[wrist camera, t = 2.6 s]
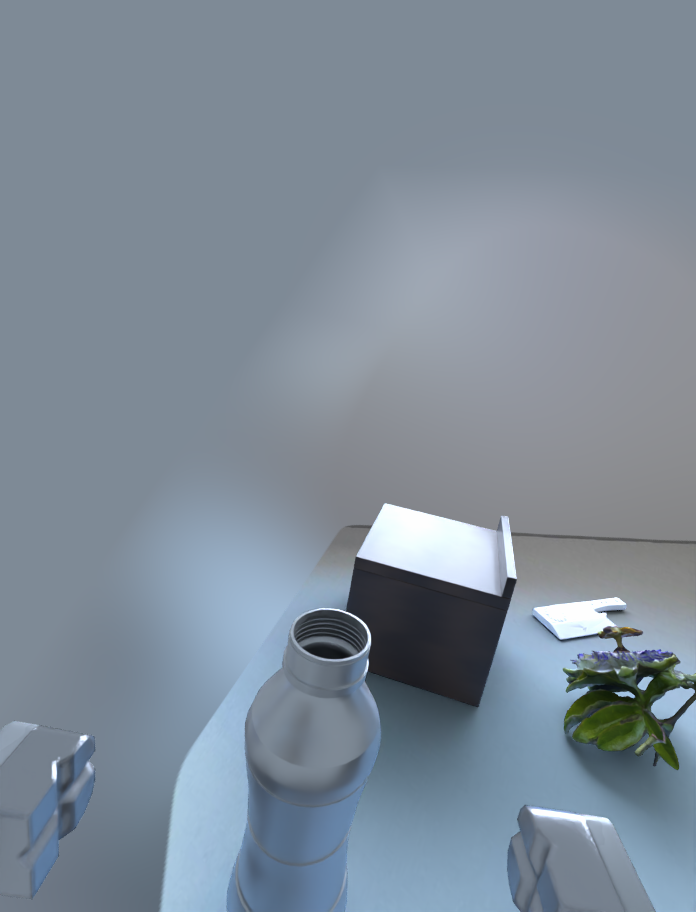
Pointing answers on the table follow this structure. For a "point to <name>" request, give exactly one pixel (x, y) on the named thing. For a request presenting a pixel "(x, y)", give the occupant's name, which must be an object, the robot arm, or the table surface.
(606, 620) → the white plastic strip tool
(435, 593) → the block with raised lip
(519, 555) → the table surface
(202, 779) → the table surface
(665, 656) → the passion flower
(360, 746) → the plastic bottle
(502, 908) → the table surface
